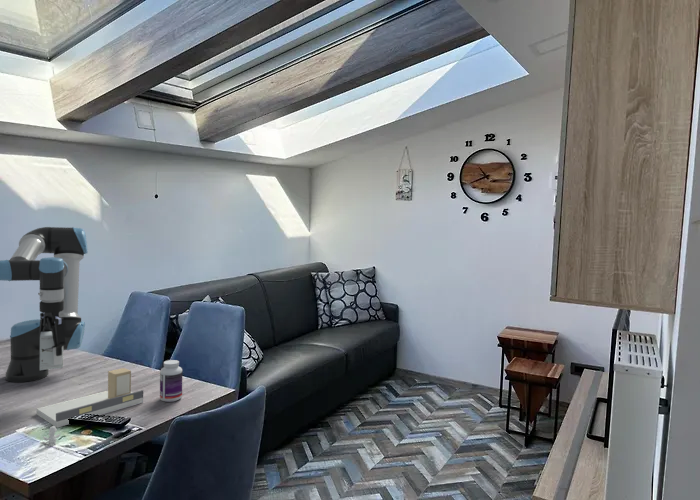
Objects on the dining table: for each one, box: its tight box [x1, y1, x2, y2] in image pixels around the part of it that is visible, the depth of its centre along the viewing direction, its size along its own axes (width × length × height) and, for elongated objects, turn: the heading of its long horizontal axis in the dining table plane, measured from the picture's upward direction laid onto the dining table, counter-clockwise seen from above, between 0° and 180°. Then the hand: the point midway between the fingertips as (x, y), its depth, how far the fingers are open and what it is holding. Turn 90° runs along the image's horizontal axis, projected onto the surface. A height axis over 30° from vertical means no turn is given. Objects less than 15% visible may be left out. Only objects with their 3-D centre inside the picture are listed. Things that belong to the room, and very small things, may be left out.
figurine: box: [41, 425, 62, 447], centre depth 150 cm, size 8×8×6 cm
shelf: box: [36, 389, 144, 429], centre depth 178 cm, size 16×30×5 cm, turn 143°
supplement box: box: [40, 331, 64, 370], centre depth 181 cm, size 7×7×13 cm
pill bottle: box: [159, 359, 183, 403], centre depth 190 cm, size 8×8×14 cm
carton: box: [107, 367, 132, 399], centre depth 184 cm, size 5×6×10 cm
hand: (51, 361), depth 182 cm, fingers closed on supplement box, 9 cm apart
